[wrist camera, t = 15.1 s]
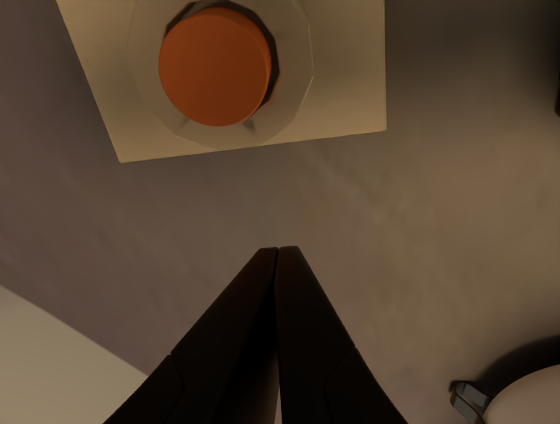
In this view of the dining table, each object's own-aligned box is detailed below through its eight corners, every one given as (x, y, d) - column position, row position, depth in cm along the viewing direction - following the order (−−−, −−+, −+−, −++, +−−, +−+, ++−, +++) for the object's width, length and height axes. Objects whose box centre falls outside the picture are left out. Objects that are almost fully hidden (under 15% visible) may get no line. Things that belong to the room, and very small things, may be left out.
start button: (262, -2, 14) (257, 4, 12) (278, 104, 16) (276, 120, 14) (158, 15, 14) (142, 23, 13) (187, 116, 16) (175, 133, 15)
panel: (373, -98, 15) (392, -110, 12) (379, 113, 19) (394, 148, 16) (69, -40, 17) (9, -37, 13) (135, 144, 21) (103, 182, 17)
